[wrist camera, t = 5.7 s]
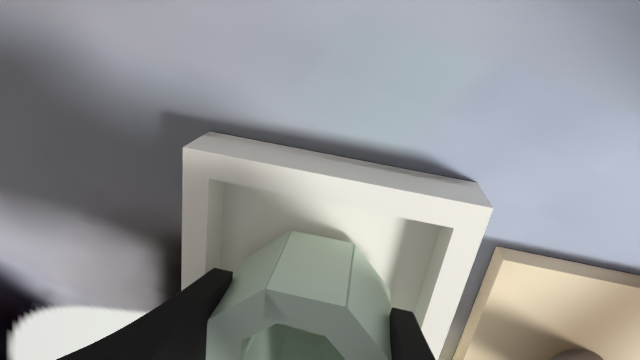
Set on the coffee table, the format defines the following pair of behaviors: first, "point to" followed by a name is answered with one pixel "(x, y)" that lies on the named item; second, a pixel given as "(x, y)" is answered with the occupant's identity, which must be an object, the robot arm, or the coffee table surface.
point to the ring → (302, 305)
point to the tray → (334, 218)
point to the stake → (552, 311)
